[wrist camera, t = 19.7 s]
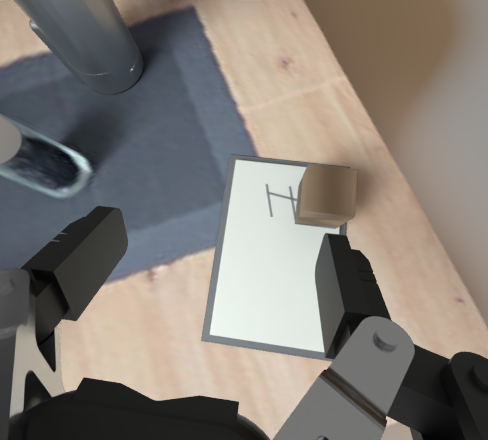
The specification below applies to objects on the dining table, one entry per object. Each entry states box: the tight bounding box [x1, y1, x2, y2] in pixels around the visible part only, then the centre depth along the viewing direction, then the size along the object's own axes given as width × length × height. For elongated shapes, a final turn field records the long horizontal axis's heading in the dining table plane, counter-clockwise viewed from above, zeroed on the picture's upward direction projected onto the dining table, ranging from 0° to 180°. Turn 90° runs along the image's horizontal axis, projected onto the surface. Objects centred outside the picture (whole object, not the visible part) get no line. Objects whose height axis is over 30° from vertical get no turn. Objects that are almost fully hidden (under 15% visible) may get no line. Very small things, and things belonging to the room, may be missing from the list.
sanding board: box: [201, 155, 350, 362], centre depth 34 cm, size 16×24×1 cm, turn 172°
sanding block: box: [294, 164, 358, 229], centre depth 31 cm, size 5×5×7 cm
